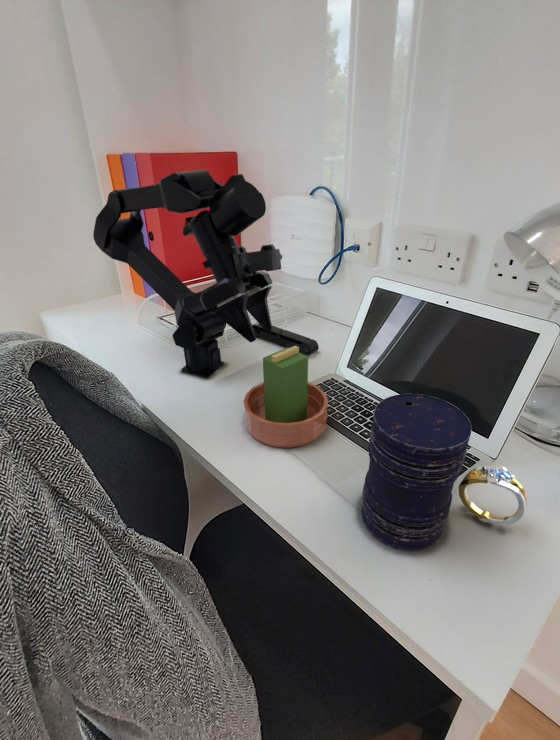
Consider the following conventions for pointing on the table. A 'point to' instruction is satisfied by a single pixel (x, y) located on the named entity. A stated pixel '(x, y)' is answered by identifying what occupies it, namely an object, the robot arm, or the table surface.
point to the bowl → (285, 432)
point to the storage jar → (413, 469)
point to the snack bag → (285, 386)
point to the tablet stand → (286, 339)
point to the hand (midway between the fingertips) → (262, 335)
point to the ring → (496, 477)
